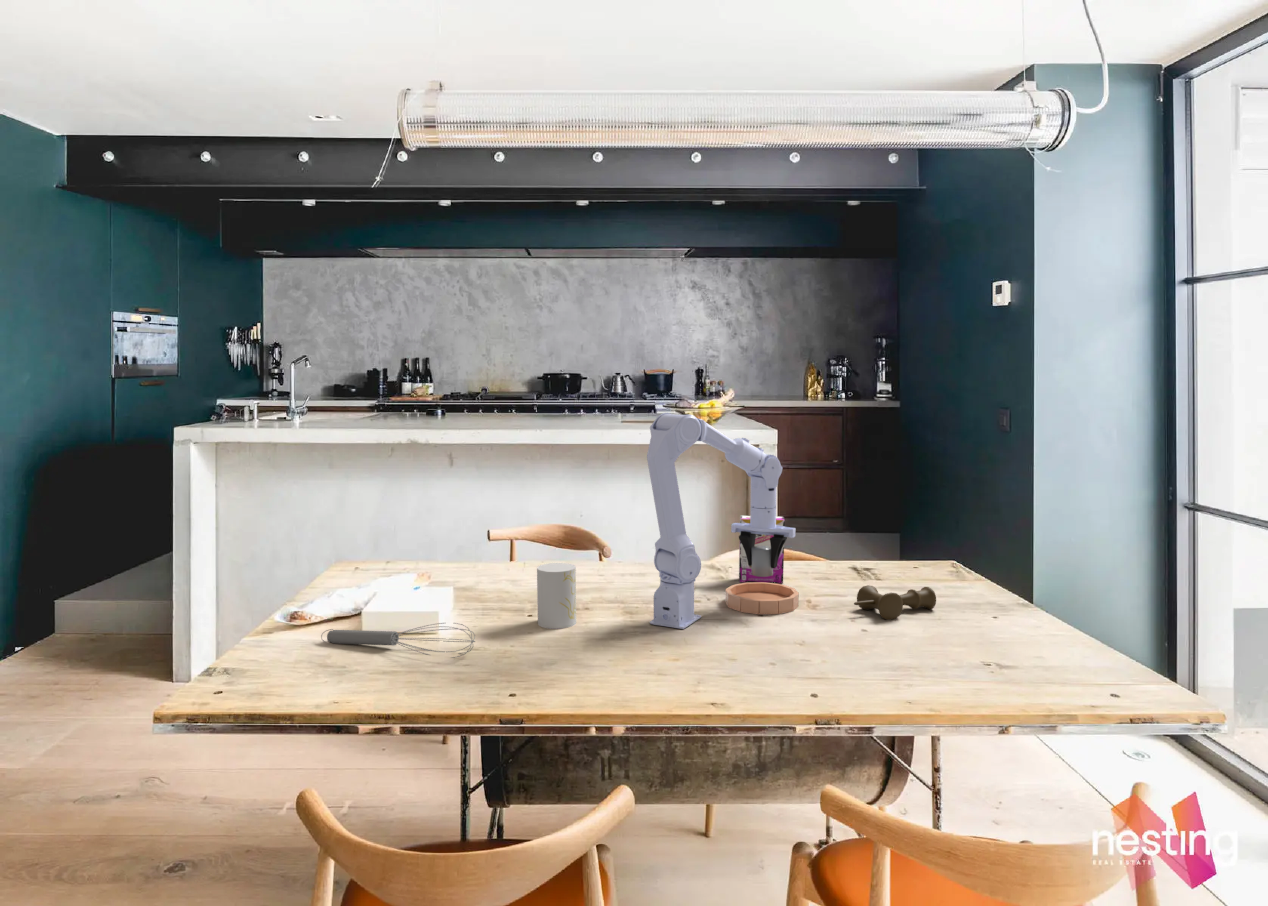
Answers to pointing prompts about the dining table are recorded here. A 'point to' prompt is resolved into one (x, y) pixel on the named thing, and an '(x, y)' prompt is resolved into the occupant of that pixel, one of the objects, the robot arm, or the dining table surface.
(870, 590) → the kendama
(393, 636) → the kitchen whisk
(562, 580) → the white cylinder
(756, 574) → the grey cylinder
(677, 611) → the robot arm
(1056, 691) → the dining table surface
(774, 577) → the candy bar box
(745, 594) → the bowl
